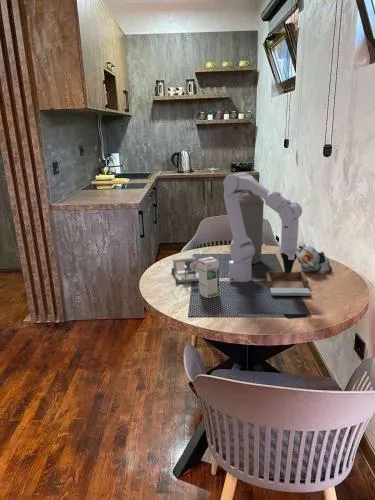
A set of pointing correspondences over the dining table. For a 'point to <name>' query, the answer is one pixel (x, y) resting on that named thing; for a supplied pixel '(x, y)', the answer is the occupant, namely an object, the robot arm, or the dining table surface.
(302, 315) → the phone
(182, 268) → the grey small appliance
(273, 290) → the cabinet door
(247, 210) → the canister
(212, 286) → the syrup box
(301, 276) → the brown shallow open box
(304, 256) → the lucky cat figurine
